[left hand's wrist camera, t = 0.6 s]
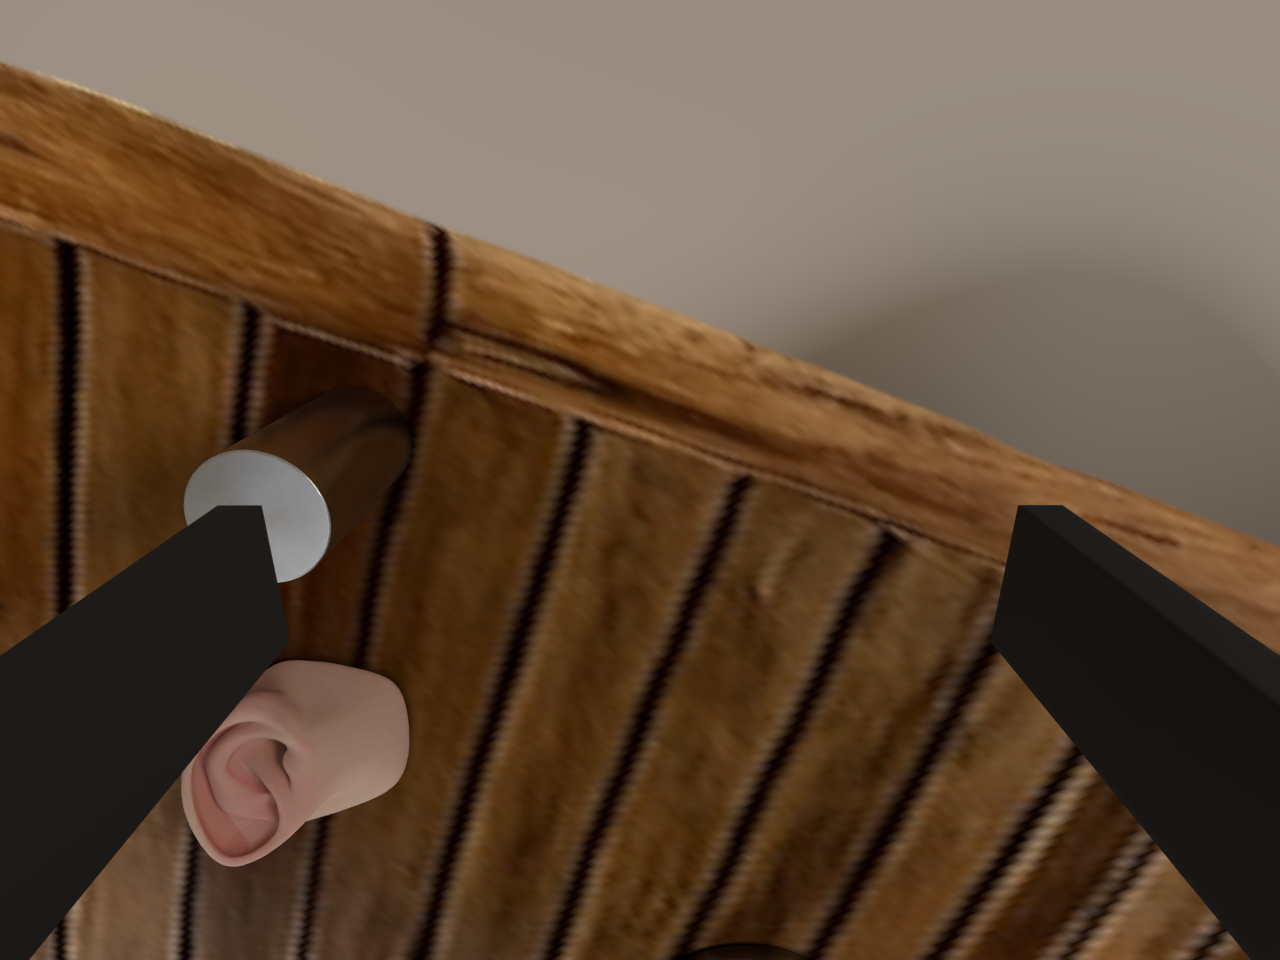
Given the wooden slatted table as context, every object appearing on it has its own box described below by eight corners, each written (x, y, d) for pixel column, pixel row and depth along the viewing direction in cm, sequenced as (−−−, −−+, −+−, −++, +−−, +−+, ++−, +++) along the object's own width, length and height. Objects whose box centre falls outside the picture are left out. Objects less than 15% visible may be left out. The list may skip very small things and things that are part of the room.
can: (431, 424, 36) (355, 500, 26) (382, 507, 38) (294, 607, 28) (332, 364, 35) (215, 421, 25) (287, 452, 37) (160, 537, 27)
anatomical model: (356, 684, 37) (425, 849, 41) (382, 641, 40) (443, 795, 44) (119, 728, 38) (208, 884, 41) (165, 682, 41) (244, 829, 45)
